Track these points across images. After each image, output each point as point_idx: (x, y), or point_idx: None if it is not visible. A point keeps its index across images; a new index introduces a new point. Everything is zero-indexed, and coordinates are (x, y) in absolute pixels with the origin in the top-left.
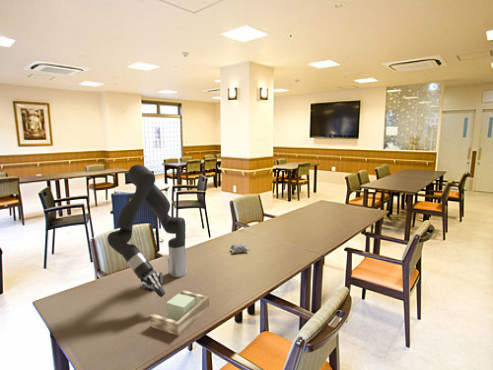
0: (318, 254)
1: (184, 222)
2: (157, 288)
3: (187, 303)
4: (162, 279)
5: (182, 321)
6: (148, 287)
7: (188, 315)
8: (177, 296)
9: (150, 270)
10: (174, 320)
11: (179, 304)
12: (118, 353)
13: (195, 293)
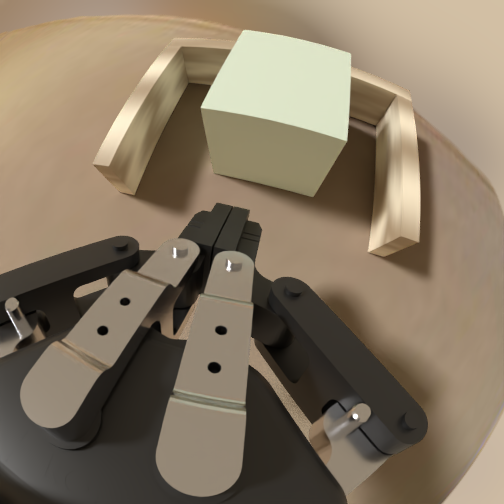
0: (10, 32)
1: None
2: (246, 256)
3: (310, 43)
4: (67, 253)
5: (383, 81)
6: (362, 344)
7: None
8: (246, 98)
9: (6, 497)
10: (398, 106)
11: (335, 70)
12: (497, 291)
13: (137, 87)
